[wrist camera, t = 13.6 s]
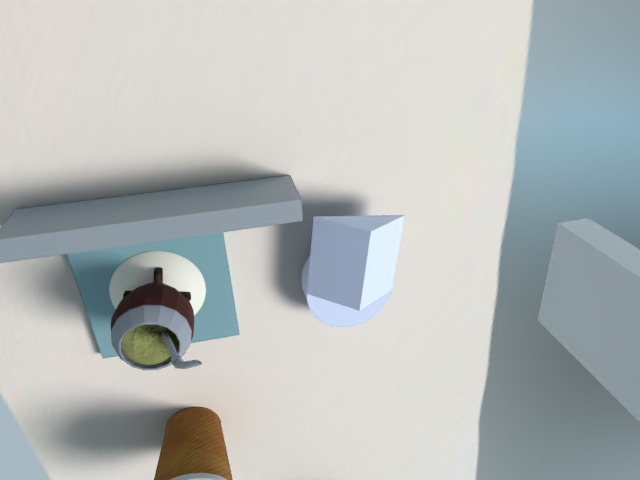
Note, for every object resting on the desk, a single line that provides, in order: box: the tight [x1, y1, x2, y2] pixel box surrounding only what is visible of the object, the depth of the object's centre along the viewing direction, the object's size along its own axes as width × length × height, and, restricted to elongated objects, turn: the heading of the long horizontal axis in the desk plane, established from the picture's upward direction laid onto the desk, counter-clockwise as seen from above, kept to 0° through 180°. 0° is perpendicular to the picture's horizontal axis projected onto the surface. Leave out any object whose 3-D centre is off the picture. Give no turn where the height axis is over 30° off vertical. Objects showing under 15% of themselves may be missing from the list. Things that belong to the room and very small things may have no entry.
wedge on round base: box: [301, 215, 405, 327], centre depth 49 cm, size 9×7×13 cm
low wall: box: [0, 175, 303, 263], centre depth 42 cm, size 2×24×6 cm, turn 93°
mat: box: [67, 232, 239, 358], centre depth 48 cm, size 14×14×1 cm
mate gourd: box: [111, 267, 202, 370], centre depth 41 cm, size 8×8×15 cm
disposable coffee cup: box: [154, 407, 232, 480], centre depth 53 cm, size 10×10×12 cm
